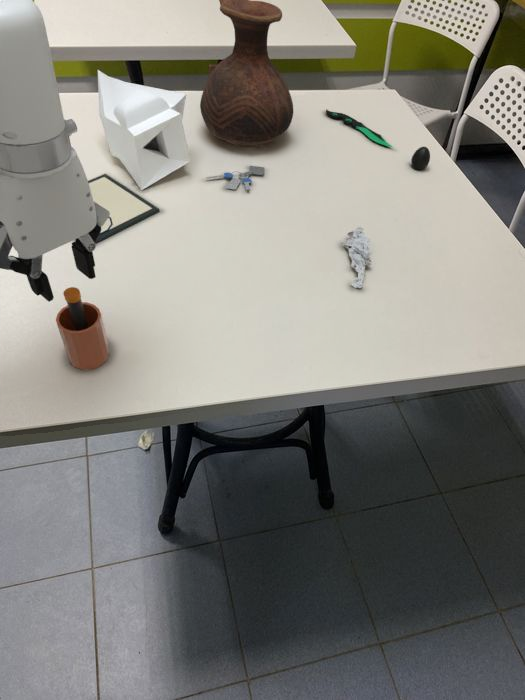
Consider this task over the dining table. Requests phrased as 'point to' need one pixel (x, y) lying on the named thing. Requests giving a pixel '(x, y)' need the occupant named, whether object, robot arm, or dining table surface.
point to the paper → (358, 254)
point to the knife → (358, 126)
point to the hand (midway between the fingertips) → (65, 282)
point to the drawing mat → (118, 205)
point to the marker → (76, 308)
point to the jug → (247, 81)
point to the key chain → (235, 182)
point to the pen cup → (84, 338)
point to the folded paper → (143, 128)
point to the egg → (420, 158)
